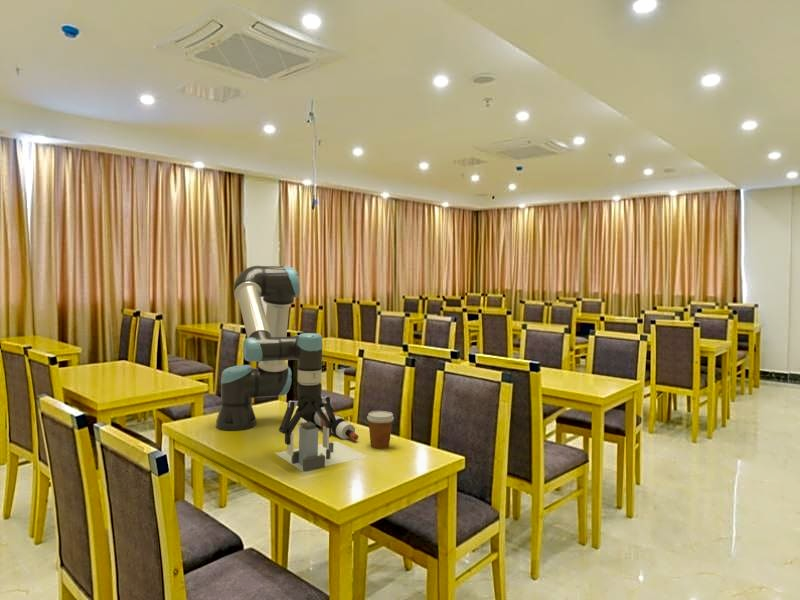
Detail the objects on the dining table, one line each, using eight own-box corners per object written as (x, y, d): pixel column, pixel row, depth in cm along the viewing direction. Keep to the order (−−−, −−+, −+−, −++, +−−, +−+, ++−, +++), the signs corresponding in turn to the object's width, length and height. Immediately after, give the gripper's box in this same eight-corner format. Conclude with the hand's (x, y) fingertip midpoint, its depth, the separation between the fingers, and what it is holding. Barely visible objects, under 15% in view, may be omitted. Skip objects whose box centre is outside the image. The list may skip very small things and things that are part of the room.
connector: (298, 463, 172) (299, 422, 172) (309, 461, 175) (310, 420, 174) (306, 468, 168) (306, 426, 168) (317, 465, 171) (318, 424, 170)
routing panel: (274, 454, 182) (274, 442, 182) (336, 442, 196) (336, 431, 196) (303, 473, 166) (303, 460, 165) (368, 458, 180) (368, 446, 180)
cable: (349, 456, 195) (340, 435, 191) (304, 424, 221) (295, 405, 217) (371, 440, 200) (362, 418, 196) (324, 410, 226) (315, 391, 222)
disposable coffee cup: (379, 453, 186) (380, 419, 185) (360, 447, 192) (361, 413, 191) (398, 447, 193) (399, 414, 192) (379, 441, 199) (380, 409, 198)
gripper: (279, 389, 160) (277, 461, 161) (348, 381, 175) (347, 447, 176) (268, 384, 166) (267, 454, 167) (336, 377, 181) (335, 441, 182)
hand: (308, 450), depth 171 cm, fingers open, 12 cm apart
